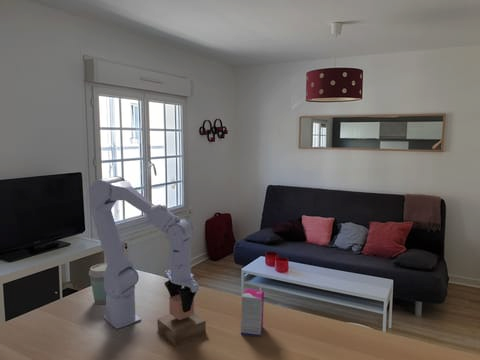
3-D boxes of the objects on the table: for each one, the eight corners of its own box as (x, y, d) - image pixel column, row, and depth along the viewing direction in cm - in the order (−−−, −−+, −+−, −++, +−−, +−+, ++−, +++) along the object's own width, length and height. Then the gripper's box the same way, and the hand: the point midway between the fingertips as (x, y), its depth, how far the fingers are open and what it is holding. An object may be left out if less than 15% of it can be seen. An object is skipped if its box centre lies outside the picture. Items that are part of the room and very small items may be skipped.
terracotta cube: (169, 313, 111) (169, 297, 110) (184, 308, 114) (183, 292, 113) (179, 320, 107) (179, 303, 106) (193, 314, 110) (193, 297, 110)
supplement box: (261, 337, 108) (261, 298, 106) (240, 334, 109) (240, 296, 107) (263, 326, 113) (264, 289, 112) (244, 324, 114) (244, 288, 113)
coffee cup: (106, 293, 136) (105, 261, 134) (122, 299, 131) (120, 266, 129) (85, 302, 129) (83, 268, 127) (100, 309, 124) (98, 273, 122)
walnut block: (157, 331, 111) (157, 318, 110) (187, 320, 117) (186, 308, 117) (175, 346, 103) (175, 332, 103) (205, 333, 110) (205, 320, 109)
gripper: (207, 265, 106) (207, 312, 108) (178, 253, 116) (179, 295, 118) (186, 272, 101) (187, 320, 103) (157, 258, 112) (159, 302, 113)
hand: (181, 307), depth 110 cm, fingers closed on terracotta cube, 5 cm apart
